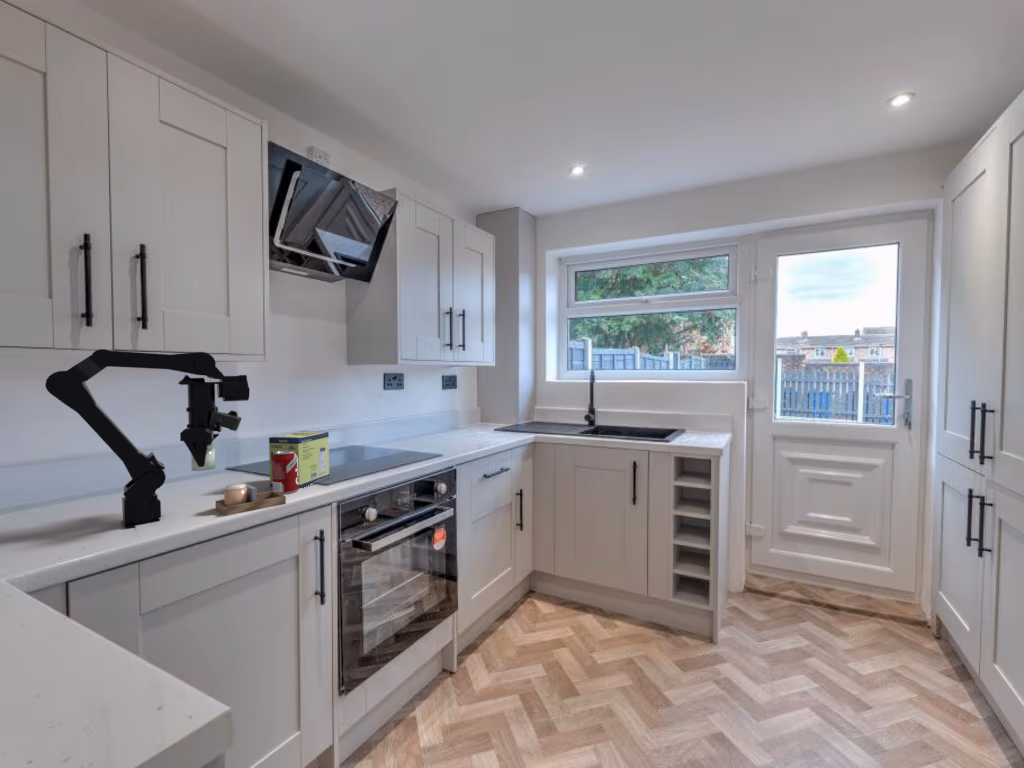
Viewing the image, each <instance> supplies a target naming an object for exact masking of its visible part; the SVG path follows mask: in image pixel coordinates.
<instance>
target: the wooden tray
mask: <svg viewBox="0 0 1024 768" xmlns="http://www.w3.org/2000/svg"><path fill="white" fill-rule="evenodd" d="M286 498H287V497H286V496H285V494H280V493H277V492H275V491H273V490H269V491H264V492H258V493H257V501H254V502H249V503H244V504H239V505H233V506H228V507H226V506H225V501H224V499H219V500H218V499H217V500H215V510H216V511H218V512H220V513H221V514H222V515H224V516H225V517H227V516H232V515H238V514H242V513H248V512H252V511H257V510H263V509H268V508H273V507H277V506H283V505H286V503H287V502H286V501H287V500H286Z"/></svg>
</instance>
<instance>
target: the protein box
mask: <svg viewBox="0 0 1024 768" xmlns="http://www.w3.org/2000/svg"><path fill="white" fill-rule="evenodd" d="M329 433H330V432H329V431H314V430H313V431H311V430H310V431H309V430H308V431H307V430H300V431H295V432H291V433H286V434H281V435H276V436H271V437H270V436H269V437H268V449H269V450H268V451H269V453H268V454H269V457H268V458H269V459H268V460H269V484H270V485H269V486H270V488H273V480H272V458H273V457H274V455H275V454H274V452H277V451H283V450H294V451H295V454H296V455H297V456H298V486H299V489H301V488H303V489H305V488H307V487H306V486H308V485H310V484H311V483H312V482H314V481H316V480H318V479H321V478H324V477H326V476H329V477H330V450H329V449H330V444H329V443H330V441H329V439H330V438H329ZM304 487H305V488H304ZM308 487H309V486H308ZM299 489H298V490H299Z"/></svg>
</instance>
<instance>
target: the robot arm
mask: <svg viewBox="0 0 1024 768" xmlns="http://www.w3.org/2000/svg"><path fill="white" fill-rule="evenodd" d="M216 364H217V363H216V360H215V358H214V357H213V356H212V355H211V354H210V353H208V352H204V351H198V352H197V351H196V352H195V351H194V352H185V353H184V352H182V353H172V354H167V353H165V354H164V353H152V352H151V353H150V352H136V351H135V352H133V351H121V350H119V351H118V350H117V351H116V350H108V349H104V348H103V349H102V348H101V349H98V350H95V351H93V352H92V354H90V355H89V356H87V357H86V358H84V359H83V360H81V361H80V362H78V363H76V364H75V365H73V366H72V367H71V368H69V369H68V370H58V371H55V372H53V373H51V374H50V375H48V377H47V378H46V381H45V385H44V386H45V389H46V390H47V392H48V393H49V394H50V395H52V396H53V397H55V398H56V399H57V400H58V401H60V402H61V403H63V404H64V405H65V406H67V407H68V408H69V409H71V410H72V411H73V412H76V413H77V414H78V415H79V416H80V417H81V418H82V420H84V421H85V422H86V423H87V425H88V426H89V427H90V428H91V429H92V430H93V432H95V433H96V435H97V436H98V437H100V439H101V440H102V441H103V442H104V443H105V444H106V445H107V446H108V448H109V449H110V450H111V451H113V453H115V455H116V456H117V457H118V458H119V459H120V460H121V462H122V463H123V465H124V466H125V469H126V470H127V472H128V475H129V476H130V477H131V480H129V481H128V482H127V483H126V484H125V485H124V486H123V496H124V497H121V502H122V503H121V507H122V508H121V510H122V511H121V512H122V513H121V514H122V519H121V521H120V522H121V525H122V526H123V527H124V528H125V529H128V528H135V527H136V526H140V525H141V526H142V525H147V524H152V523H156V522H160V521H161V517H162V505H161V504H162V501H161V500H160V498H158V494H157V493H156V491H157V490H158V489H160V488H161V487H162V486H163V485H164V484H165V481H166V479H167V477H166V473H165V471H164V470H166V466H165V464H164V463H163V462H161V461H159V460H158V458H157V457H156V454H154V452H152V451H151V452H150V453H149V454H145V453H144V452H143V451H141V450H140V449H138V447H137V446H136V445H135V444H134V443H133V442H132V441H131V440H130V438H128V436H127V435H126V434H125V433H124V432H123V431H122V430H121V429H120V428H119V426H118V425H117V424H116V423H115V422H114V421H113V420H112V418H110V416H109V415H108V414H107V413H106V412H105V411H104V410H103V409H102V407H101V406H100V405H99V404H98V403H97V402H96V399H95V398H94V396H93V394H92V392H91V391H90V389H89V387H88V385H87V384H86V382H88V381H89V380H90V379H92V378H93V377H94V376H96V375H97V374H98V373H100V372H102V371H103V370H105V369H106V368H107V367H115V368H130V369H131V368H133V369H151V370H152V369H155V370H169V371H174V372H178V373H179V372H180V373H185V375H184V377H183V378H182V379H181V380H179V381H178V382H177V384H178V385H179V386H183V385H184V386H186V385H187V407H186V408H185V409H186V410H185V411H186V413H188V414H187V416H188V419H187V420H188V424H186V428H185V429H183V430H182V431H181V432H180V433H179V437H180V438H179V439H180V442H183V444H185V445H186V447H187V449H188V450H189V452H190V455H191V454H192V456H193V457H194V459H195V461H196V463H197V464H198V466H199V467H204V465H205V459H206V454H207V448H208V445H209V444H213V442H214V440H215V439H217V437H219V436H220V433H221V432H222V430H223V429H222V428H225V429H229V430H230V431H234V432H236V431H238V430H239V427H240V425H241V421H242V420H243V419H242V417H241V416H239V415H238V412H237V411H235V410H230V411H229V412H228V413H227V412H222V411H219V407H218V406H217V405H216V395H217V398H218V399H221V400H222V402H224V403H226V402H246V401H247V402H248V401H249V399H250V387H249V381H248V375H247V374H238V375H224V373H223V372H221V370H220V369H219V368H218V367H217V366H216ZM188 374H190V375H195V376H205V377H207V378H208V379H211V380H219V381H205V377H190V376H189V375H188ZM216 385H217V386H216ZM215 432H217V433H215Z"/></svg>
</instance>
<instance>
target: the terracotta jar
mask: <svg viewBox="0 0 1024 768" xmlns="http://www.w3.org/2000/svg"><path fill="white" fill-rule="evenodd" d="M246 484H247V483H233V484H228V485H226V486H225V489H224V491H223V494H224V495H223V496H224V499H223V500H224V501H225V506H226V507H228V506H233V505H239V504H244V503H247V487H246Z"/></svg>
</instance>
